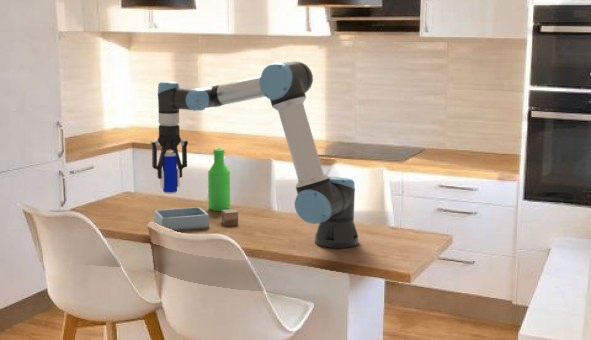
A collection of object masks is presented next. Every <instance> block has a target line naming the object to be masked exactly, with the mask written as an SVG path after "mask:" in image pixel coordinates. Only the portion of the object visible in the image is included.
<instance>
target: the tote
mask: <svg viewBox="0 0 591 340" xmlns="http://www.w3.org/2000/svg"><path fill="white" fill-rule="evenodd" d="M153 217H154V224H155V223H157V224H159V225H161V226H164V227H166V228H169V229H172V230H175V232H179V231H188V230H189V231H190V230H200V229H210V214H209V213H207V212H206V211H205V210H204V209H203V208H202V207H200V206H196V207H193V206H192V207H182V208H181V207H180V208H168V209H167V208H166V209H156V210H154V215H153Z"/></svg>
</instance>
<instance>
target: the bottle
mask: <svg viewBox="0 0 591 340" xmlns="http://www.w3.org/2000/svg"><path fill="white" fill-rule="evenodd" d="M225 153H226V152H225V149H223V148H215V149H213V153H212V154H213V160H214V161H213V164H212V165H211V167H210V168H209V170H208V176H207V177H208V178H207V179H208V181H207V183H208V185H207V186H208V187H207V188H208V189H207V190H208V194H207V195H208V209H210V210H211V211H215V212H219V211H220V212H222V210H227V209H230V207H231V172H230V170H229V168H228V167H227V165H226V164H225V158H224V157H225V155H224V154H225Z"/></svg>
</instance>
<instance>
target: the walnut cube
mask: <svg viewBox="0 0 591 340" xmlns="http://www.w3.org/2000/svg"><path fill="white" fill-rule="evenodd" d="M221 223H222V224H223V225H225V226H226V227H227V226H235V225H239V211H238V210H236V209H235V208H231V209H230V208H228V209H227V210H222V211H221Z"/></svg>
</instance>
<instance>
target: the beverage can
mask: <svg viewBox="0 0 591 340" xmlns="http://www.w3.org/2000/svg"><path fill="white" fill-rule="evenodd" d="M177 168H178V166H177V159H176V153H174V152H173V151H166V153H165V155H164V162H163V166H162V170H164V188H162V191H163V193H164V194H166V195H167V194H169V195H172V194H176V193H177V192H178V187H177Z"/></svg>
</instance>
